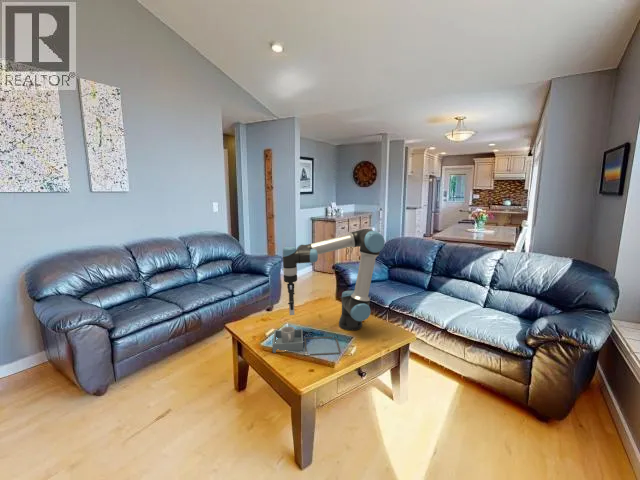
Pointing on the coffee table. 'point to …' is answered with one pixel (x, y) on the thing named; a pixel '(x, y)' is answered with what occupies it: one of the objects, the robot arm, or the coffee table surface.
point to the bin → (294, 346)
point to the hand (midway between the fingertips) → (291, 310)
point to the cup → (288, 334)
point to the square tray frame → (321, 353)
